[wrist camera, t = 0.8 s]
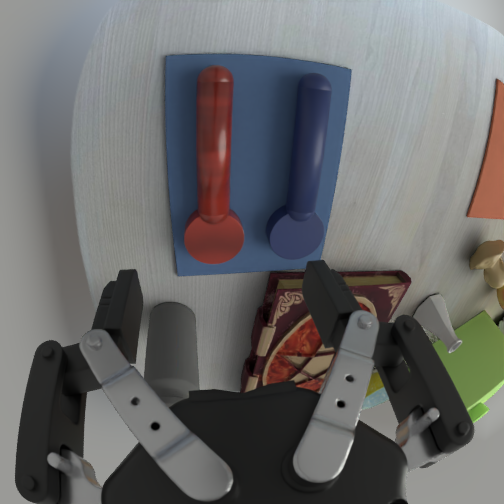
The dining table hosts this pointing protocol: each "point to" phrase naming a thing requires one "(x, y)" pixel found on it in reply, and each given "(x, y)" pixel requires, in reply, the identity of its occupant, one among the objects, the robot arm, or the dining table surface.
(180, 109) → the blue mat
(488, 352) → the canister
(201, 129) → the red spoon
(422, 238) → the dining table surface
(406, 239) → the dining table surface
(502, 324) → the diorama
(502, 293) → the apple
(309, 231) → the blue spoon
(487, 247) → the cat figurine
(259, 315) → the book
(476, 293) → the dining table surface
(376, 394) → the bowl
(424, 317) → the flask
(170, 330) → the bottle
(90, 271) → the dining table surface
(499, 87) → the red mat
